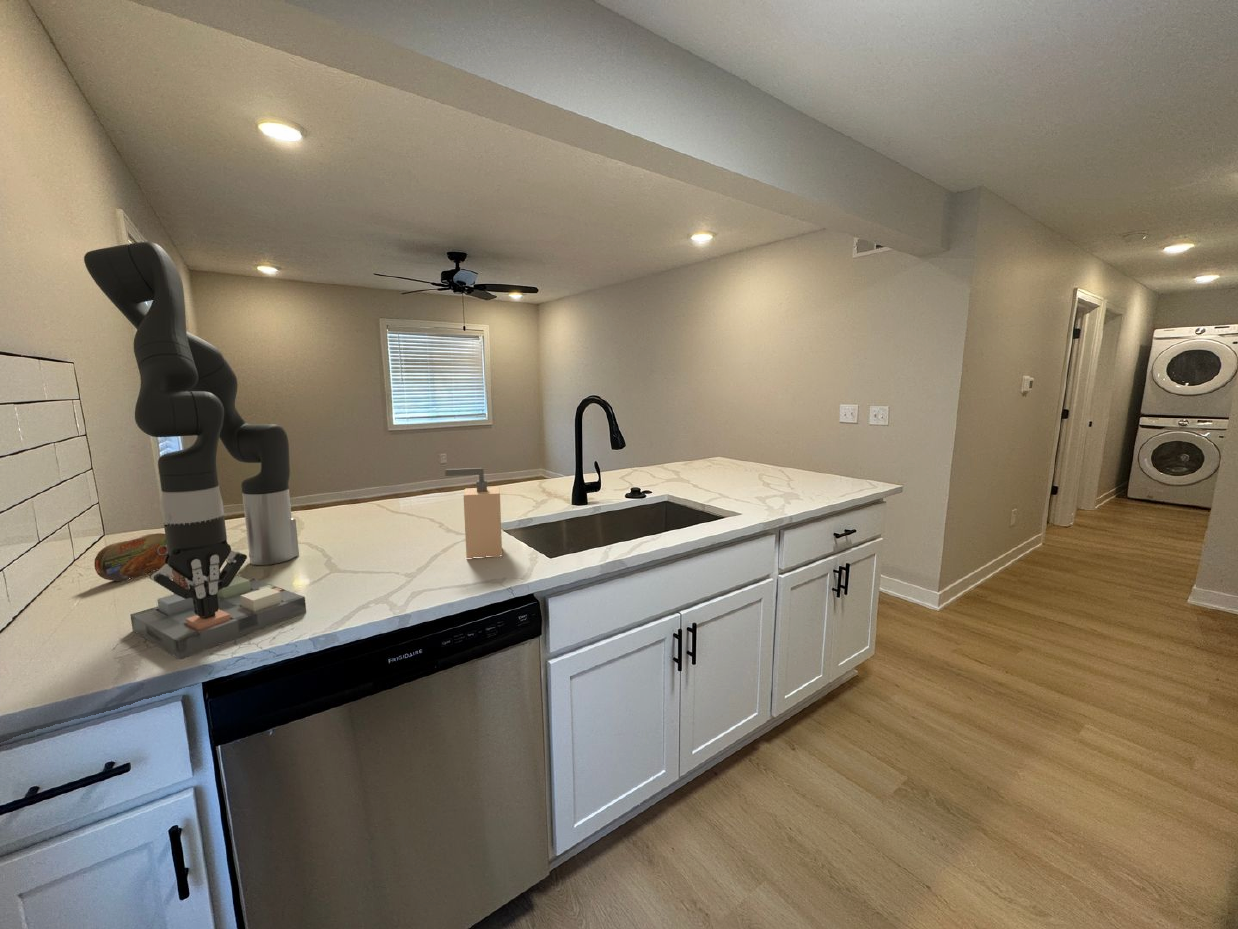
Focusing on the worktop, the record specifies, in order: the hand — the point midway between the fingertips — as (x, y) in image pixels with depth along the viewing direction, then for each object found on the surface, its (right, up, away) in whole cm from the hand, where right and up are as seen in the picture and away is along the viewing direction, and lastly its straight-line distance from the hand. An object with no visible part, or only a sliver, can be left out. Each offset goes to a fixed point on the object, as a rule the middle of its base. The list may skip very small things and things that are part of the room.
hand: (207, 616), depth 83 cm
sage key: (-6, 0, +13) cm, 14 cm away
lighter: (-18, -1, +20) cm, 27 cm away
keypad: (-3, -3, +7) cm, 8 cm away
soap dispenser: (+32, +2, +44) cm, 55 cm away
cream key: (+4, 0, +7) cm, 8 cm away
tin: (-40, 0, +30) cm, 50 cm away
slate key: (-9, -1, +6) cm, 11 cm away
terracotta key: (0, -2, +1) cm, 3 cm away
